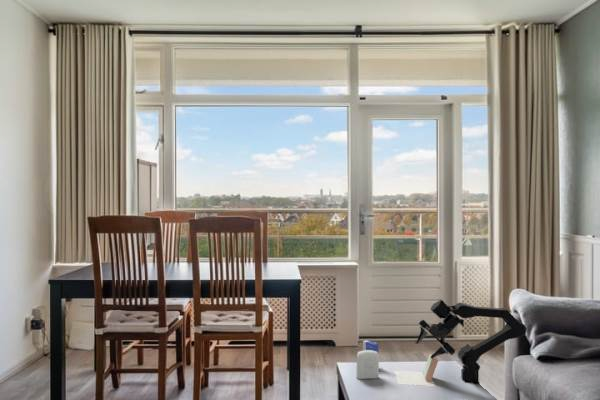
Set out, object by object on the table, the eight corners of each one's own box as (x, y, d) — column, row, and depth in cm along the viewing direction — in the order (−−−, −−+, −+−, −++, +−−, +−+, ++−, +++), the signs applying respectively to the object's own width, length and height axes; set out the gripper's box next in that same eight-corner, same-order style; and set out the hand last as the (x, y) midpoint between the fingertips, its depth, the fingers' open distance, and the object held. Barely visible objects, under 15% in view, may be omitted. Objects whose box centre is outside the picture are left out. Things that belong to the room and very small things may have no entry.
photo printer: (377, 375, 205) (377, 348, 206) (379, 378, 201) (380, 351, 201) (355, 376, 204) (355, 349, 204) (357, 379, 200) (358, 352, 200)
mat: (429, 373, 208) (429, 372, 208) (435, 387, 192) (435, 385, 192) (394, 371, 210) (394, 370, 210) (398, 385, 194) (398, 383, 194)
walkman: (378, 367, 215) (378, 343, 215) (374, 369, 213) (374, 344, 214) (366, 363, 221) (366, 339, 221) (362, 364, 219) (362, 340, 220)
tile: (428, 375, 204) (435, 355, 204) (430, 381, 197) (438, 360, 197) (422, 373, 204) (429, 353, 204) (424, 379, 197) (432, 358, 197)
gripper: (427, 306, 201) (403, 331, 201) (459, 336, 188) (433, 362, 188) (434, 313, 209) (411, 337, 209) (465, 342, 196) (440, 367, 196)
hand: (423, 350), depth 201 cm, fingers open, 9 cm apart
